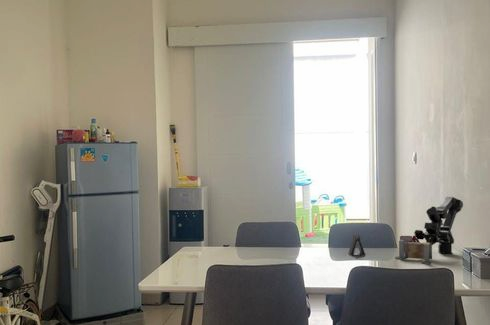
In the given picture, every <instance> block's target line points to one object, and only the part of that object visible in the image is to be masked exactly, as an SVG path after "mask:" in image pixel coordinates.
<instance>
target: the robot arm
mask: <svg viewBox="0 0 490 325" xmlns="http://www.w3.org/2000/svg"><path fill="white" fill-rule="evenodd" d="M463 207H464V203H463V201H462V200H461V199H458V198H456V197H454V196H447V197H445V199H444V201H443V202H442V203H441V204H440V206H439V207H438V206H431V207H429V208H428V209H427V210H426V214H427V217H428V219H429V221H431V222H424V226H423V228H424V229H425V232H424V231H423V230H421V229H415V231H414V235H415V236H416V238H417V239H418V240H424V239H425V242H428V243H432V246H433V245H435V244H436V243H437V244H438V248H437V249H438V251H437V252H438V253H440V254H443V255H447V254H448V255H452V254H454V253H453V252H452V245H453V244H454V243H455V239H454V236H453V233H452V231H451V230H452V227H453V224H454V222H455V219H456V216H457V214H459V212H461V211H462V209H463ZM443 220H444V222H443Z"/></svg>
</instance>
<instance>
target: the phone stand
mask: <svg viewBox="0 0 490 325" xmlns="http://www.w3.org/2000/svg"><path fill="white" fill-rule="evenodd" d="M351 241H352V242H351V244H350V247H349V250H348V252H347V253H348V255H349V256H351V257H352V256H354V257H355V256H361V255H365V256H366V253H365V250H364V247H363V245H362V244H363V243H362V242H361V236H360V235H359V234H357V233H356V234H353V235H352V240H351ZM356 246H357V247H358V250H359V252H356V251H355V249H356Z"/></svg>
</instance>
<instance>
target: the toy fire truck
mask: <svg viewBox="0 0 490 325" xmlns="http://www.w3.org/2000/svg"><path fill="white" fill-rule="evenodd" d="M400 240H403V241H404V247H405V242H410V243H421V242H420V239H417V238H416V236H415V234H414V235H413V236H411V235H400V236H399V241H400Z"/></svg>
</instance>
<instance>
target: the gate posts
mask: <svg viewBox="0 0 490 325" xmlns="http://www.w3.org/2000/svg"><path fill="white" fill-rule="evenodd" d="M422 243H423V244H424V259H423V260H421V263H420V264H422V265H431V264H432V262H431V261H430V259H429V244H430V243H428V242H426V241H425V242H422ZM398 252H399V253H398V254H399V255H396V256H394V259H397V260H405V259H407V258H405V247H404V241H403V240H400V239H399V241H398Z"/></svg>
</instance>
